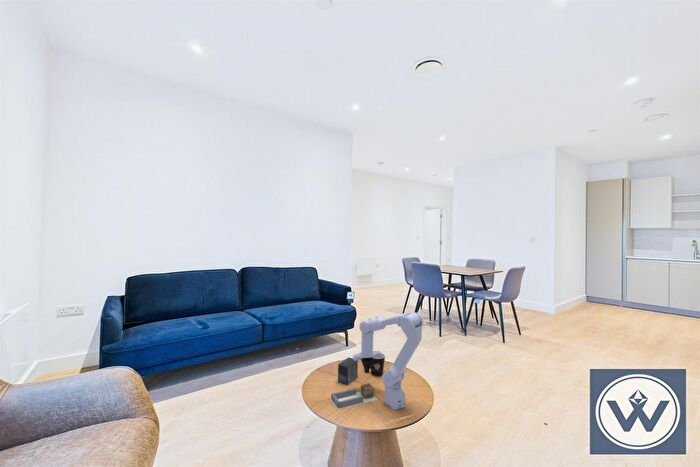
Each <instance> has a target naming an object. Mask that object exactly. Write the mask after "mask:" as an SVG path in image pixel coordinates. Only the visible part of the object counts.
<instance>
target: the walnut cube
mask: <svg viewBox="0 0 700 467" xmlns="http://www.w3.org/2000/svg"><path fill="white" fill-rule="evenodd" d="M374 391H375V388H374V386H373V385H372V384H371V383H370V382H368V383H363V384H360V392H361V395H362V396H363V397H364V399H368V398H372V397H375V395H374V393H375V392H374Z"/></svg>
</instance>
